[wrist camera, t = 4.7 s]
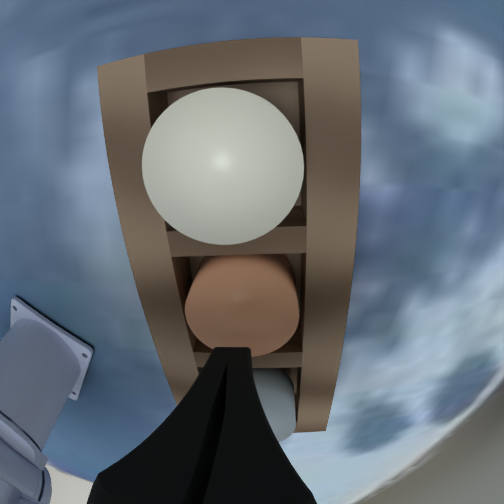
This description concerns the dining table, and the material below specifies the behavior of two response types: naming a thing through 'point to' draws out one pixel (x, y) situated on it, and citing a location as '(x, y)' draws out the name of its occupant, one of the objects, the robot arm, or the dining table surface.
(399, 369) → the dining table surface
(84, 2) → the dining table surface
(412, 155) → the dining table surface
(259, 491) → the robot arm
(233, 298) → the terracotta button
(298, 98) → the button board
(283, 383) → the slate button
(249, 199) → the cream button
